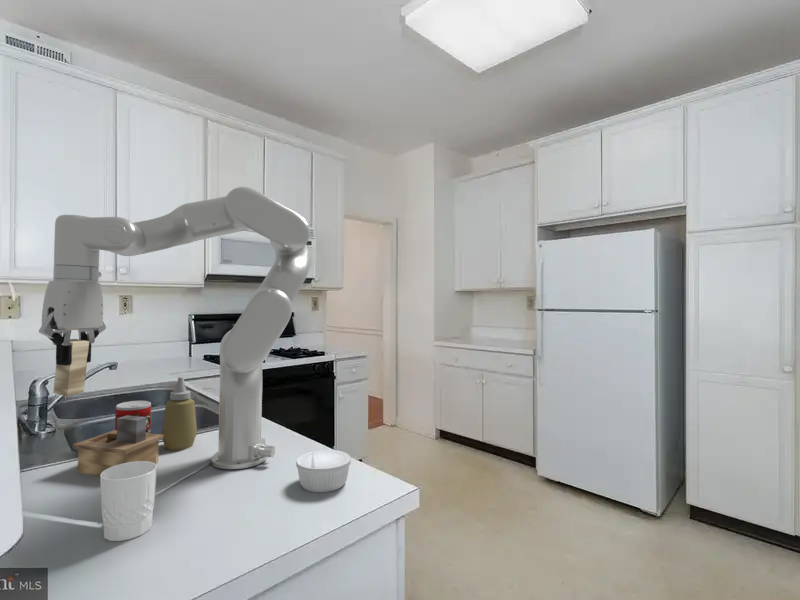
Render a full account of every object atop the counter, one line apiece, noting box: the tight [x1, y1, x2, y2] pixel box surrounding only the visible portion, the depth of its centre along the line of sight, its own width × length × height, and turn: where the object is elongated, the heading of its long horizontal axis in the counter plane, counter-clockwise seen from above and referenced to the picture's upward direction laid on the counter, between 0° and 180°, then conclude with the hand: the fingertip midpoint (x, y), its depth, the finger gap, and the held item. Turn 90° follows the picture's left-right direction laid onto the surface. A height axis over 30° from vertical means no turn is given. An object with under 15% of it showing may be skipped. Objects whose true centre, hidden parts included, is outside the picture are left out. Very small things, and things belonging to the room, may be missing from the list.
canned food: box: [114, 400, 152, 434], centre depth 109 cm, size 8×8×11 cm
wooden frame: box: [72, 415, 164, 454], centre depth 94 cm, size 13×10×6 cm
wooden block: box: [52, 338, 89, 397], centre depth 89 cm, size 4×4×11 cm
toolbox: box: [77, 437, 160, 476], centre depth 94 cm, size 12×9×6 cm
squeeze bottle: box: [161, 376, 198, 452], centre depth 109 cm, size 8×8×18 cm
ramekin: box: [295, 449, 352, 493], centre depth 90 cm, size 11×11×5 cm
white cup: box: [99, 461, 158, 542], centre depth 70 cm, size 8×8×10 cm
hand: (73, 362), depth 89 cm, fingers closed on wooden block, 3 cm apart
